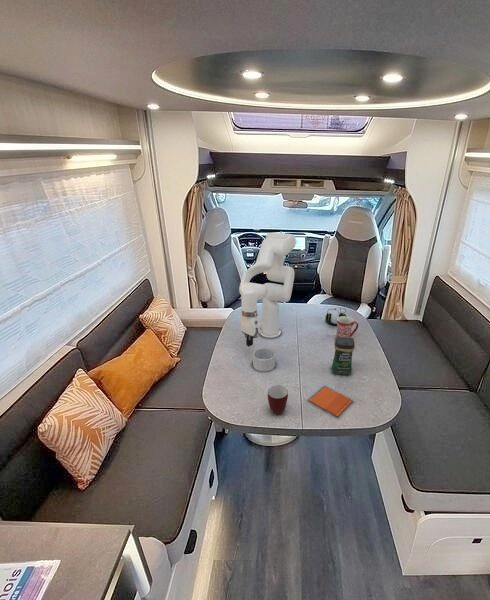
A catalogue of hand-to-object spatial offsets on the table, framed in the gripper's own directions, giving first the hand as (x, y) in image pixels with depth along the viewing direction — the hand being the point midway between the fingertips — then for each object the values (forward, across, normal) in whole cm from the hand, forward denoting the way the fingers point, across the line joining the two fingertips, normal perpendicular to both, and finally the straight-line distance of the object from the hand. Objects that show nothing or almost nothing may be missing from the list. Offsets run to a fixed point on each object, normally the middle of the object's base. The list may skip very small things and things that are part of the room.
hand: (249, 345), depth 160 cm
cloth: (+8, -50, -1) cm, 50 cm away
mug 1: (+9, -36, +18) cm, 41 cm away
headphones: (+6, -12, -67) cm, 68 cm away
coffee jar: (+8, -42, -23) cm, 48 cm away
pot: (+8, -10, -1) cm, 12 cm away
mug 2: (+7, -28, -51) cm, 58 cm away
